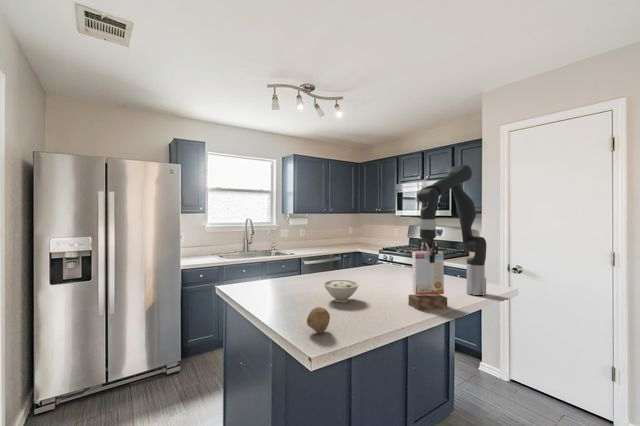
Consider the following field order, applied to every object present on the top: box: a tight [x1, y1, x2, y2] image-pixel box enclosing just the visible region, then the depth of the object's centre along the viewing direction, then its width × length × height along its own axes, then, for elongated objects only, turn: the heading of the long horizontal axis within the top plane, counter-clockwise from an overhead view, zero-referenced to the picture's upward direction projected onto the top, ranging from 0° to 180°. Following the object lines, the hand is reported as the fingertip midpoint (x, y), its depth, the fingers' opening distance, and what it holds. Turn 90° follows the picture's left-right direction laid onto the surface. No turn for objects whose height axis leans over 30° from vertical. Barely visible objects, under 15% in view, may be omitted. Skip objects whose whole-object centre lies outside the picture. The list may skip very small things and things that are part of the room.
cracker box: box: [411, 250, 445, 295], centre depth 149 cm, size 14×6×21 cm, turn 89°
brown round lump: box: [306, 306, 331, 334], centre depth 116 cm, size 9×9×10 cm
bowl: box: [322, 279, 360, 303], centre depth 159 cm, size 19×19×10 cm
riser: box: [408, 293, 448, 311], centre depth 149 cm, size 16×9×5 cm, turn 104°
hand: (427, 261), depth 149 cm, fingers closed on cracker box, 6 cm apart
